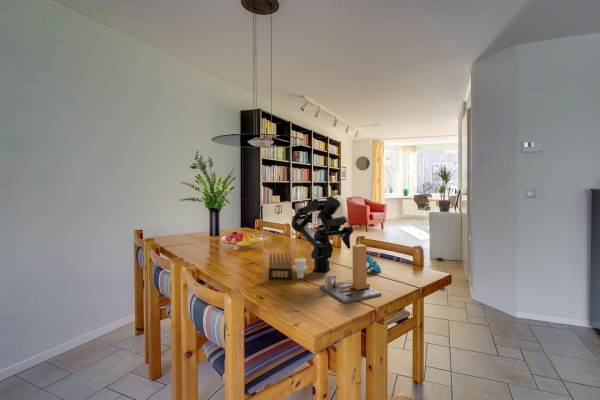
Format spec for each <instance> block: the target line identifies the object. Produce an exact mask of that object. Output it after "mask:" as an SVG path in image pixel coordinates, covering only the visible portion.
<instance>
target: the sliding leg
mask: <svg viewBox="0 0 600 400" xmlns="http://www.w3.org/2000/svg"><path fill="white" fill-rule="evenodd" d="M367 252H368V251H367V245H366V244H362V243H361V244H353V245H352V280H353V282H350V284H348V285H343V286H340V289H341V290H343V289H347V288H352V287H353V288H355V289H357V290H359V289H364V288H369V287H370V288H371V286H370V282H367V277H368V276H367V273H368V272H367V271H368V270H367V267H368V266H367V265H368V262H367V255H368V254H367Z"/></svg>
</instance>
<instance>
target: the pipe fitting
mask: <svg viewBox="0 0 600 400" xmlns="http://www.w3.org/2000/svg"><path fill="white" fill-rule="evenodd" d="M308 268H309V266H308V265H307V259H306V258H303V257H301V258H295V259H294V265H293V266H292V271H293V270H294V271H296V278H297V279H304V278H305V271H307V270H308Z"/></svg>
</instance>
